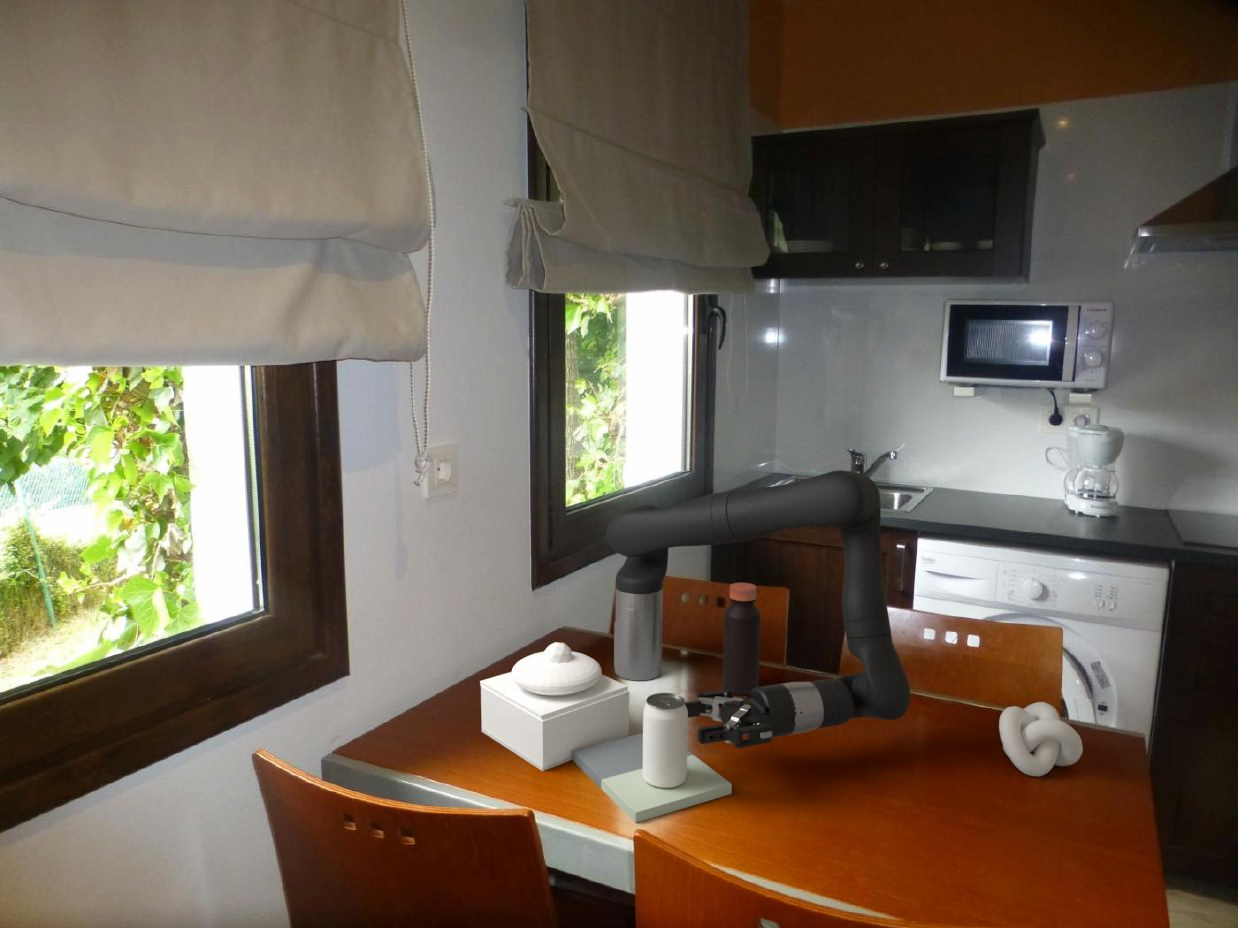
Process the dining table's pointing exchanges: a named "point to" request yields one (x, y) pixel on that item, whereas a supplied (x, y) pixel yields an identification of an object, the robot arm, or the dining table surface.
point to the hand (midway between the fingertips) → (687, 723)
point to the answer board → (625, 785)
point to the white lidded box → (553, 706)
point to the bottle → (741, 640)
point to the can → (665, 740)
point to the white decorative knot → (1038, 738)
